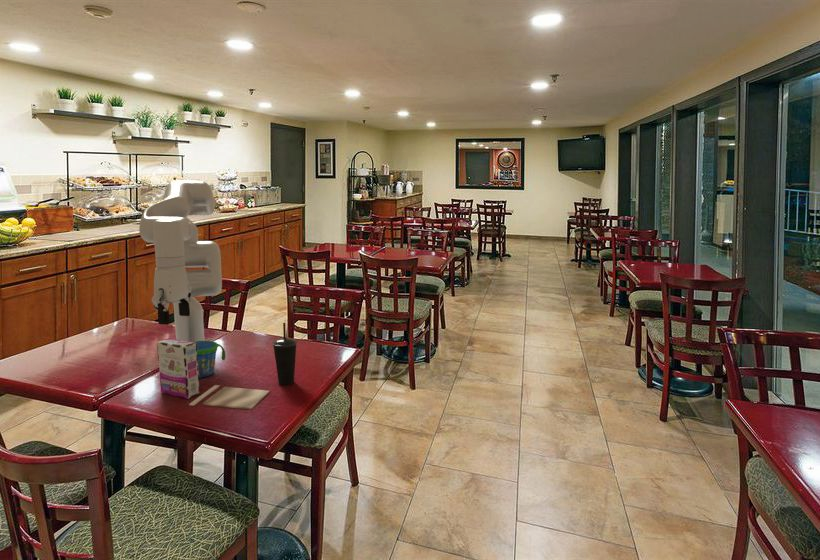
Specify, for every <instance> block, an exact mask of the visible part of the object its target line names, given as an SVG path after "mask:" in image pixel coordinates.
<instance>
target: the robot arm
mask: <svg viewBox="0 0 820 560" xmlns="http://www.w3.org/2000/svg"><path fill="white" fill-rule="evenodd" d="M215 210H216V200H215V196H214V193H213V189H212V188H211V186H210V185H209V184H208V182H205V181H203V180H173V181H171V182H169V183H168V184H167V185H166V187H165V190H164V193H163V196H162V199H161V200H160V201H157V202H155V203H154V204H151V205H150V206H147V207H146V208H145V209H144V211H143V212H142V215H141V218H140V221H139V227H138V229H139V230H138V231H139V235H140V238H141V239H142V240H143V241H145V243H153V244H154V255H155V266H156V267H155V269H154V276H153V294H154V295H153V296H152V297H151V299H150V300H151V302H152V304H153V308H155V311H156V312H157V319H158V324H159V325H164V326H165V325H167V326H168V325H170V324H171V323H170V322H171V320H170V319H171V317H170V311H169V310H168V308H169V306H170V304H173V315H174V327H175V328H174V329H175V330H174V331H175V339H179V340H185V341H191V342H196V341H206V339H205V326H204V310H203V306H202V304H201V303H200V301H198V299H196V298H195V297H210V296H212V297H213V296H217V295H219V294H221V292H222V288H223V277H222V275H223V273H222V258H221V257H222V256H221V255H222V254H221V250H220V249H221V248H220V246H219V244H218V243H217V242H215V241H212V240H199V228H198V227H197V225H196V224H195V223H194V221H192V220H191V219H190V218H188V217H189V216H209V215H213V214H214V212H215ZM186 268H207V269H186Z"/></svg>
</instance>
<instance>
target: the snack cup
mask: <svg viewBox="0 0 820 560" xmlns="http://www.w3.org/2000/svg"><path fill="white" fill-rule="evenodd" d="M196 345H197V360H198V375H199V379H200V378H201V379H202V378H205V377H208V376H213V374H214V372H215V367H216V366H215V365H216V355H217V351H218V348H220V349H221V350H222V351H221V360H222V361H226V356H227V355H226V351H225V348H224V347H223V346H222V345H221V344H219V343H217V342H216V341H214V340H213V341H212V340H205V341H196Z"/></svg>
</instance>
